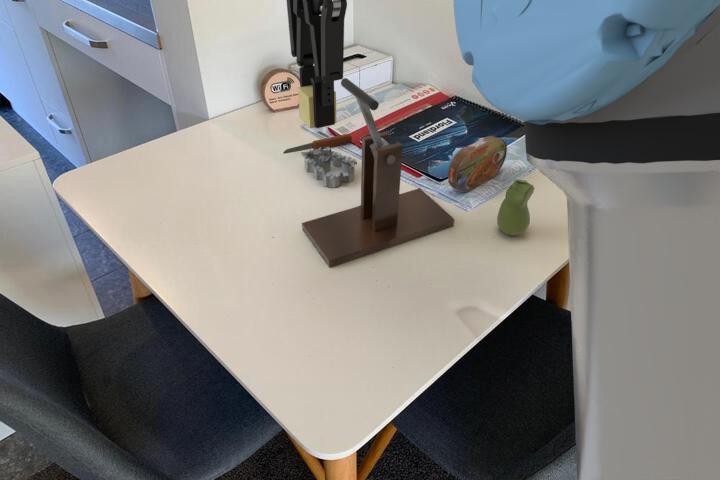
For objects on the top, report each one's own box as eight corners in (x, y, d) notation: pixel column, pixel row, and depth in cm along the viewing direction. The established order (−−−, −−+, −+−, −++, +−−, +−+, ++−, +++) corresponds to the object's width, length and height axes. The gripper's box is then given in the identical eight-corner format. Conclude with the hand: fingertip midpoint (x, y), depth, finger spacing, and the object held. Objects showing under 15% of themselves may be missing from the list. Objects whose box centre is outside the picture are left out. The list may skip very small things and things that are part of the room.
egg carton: (359, 180, 103) (360, 162, 100) (326, 191, 99) (326, 173, 97) (331, 157, 109) (331, 139, 107) (299, 166, 106) (298, 149, 104)
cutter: (365, 106, 70) (380, 97, 70) (336, 82, 76) (349, 74, 76) (392, 175, 79) (405, 167, 79) (364, 149, 85) (376, 141, 85)
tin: (455, 199, 98) (461, 159, 93) (442, 191, 100) (447, 152, 94) (504, 171, 106) (512, 134, 100) (491, 165, 107) (498, 128, 102)
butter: (310, 129, 71) (308, 97, 68) (299, 118, 73) (297, 87, 70) (336, 123, 72) (336, 91, 69) (325, 112, 75) (324, 82, 72)
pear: (503, 218, 93) (514, 170, 87) (531, 229, 91) (545, 180, 84) (489, 233, 90) (499, 184, 83) (518, 245, 87) (531, 196, 81)
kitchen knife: (349, 140, 115) (349, 132, 114) (352, 143, 114) (352, 134, 113) (282, 155, 110) (281, 147, 108) (284, 158, 109) (283, 149, 107)
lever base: (329, 267, 82) (326, 176, 72) (302, 229, 90) (295, 142, 79) (453, 226, 91) (467, 139, 81) (419, 194, 99) (427, 111, 88)
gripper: (376, -68, 53) (370, 138, 68) (310, -89, 65) (318, 92, 80) (309, -62, 51) (318, 151, 65) (252, -86, 62) (271, 101, 77)
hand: (318, 118), depth 72 cm, fingers closed on butter, 4 cm apart
